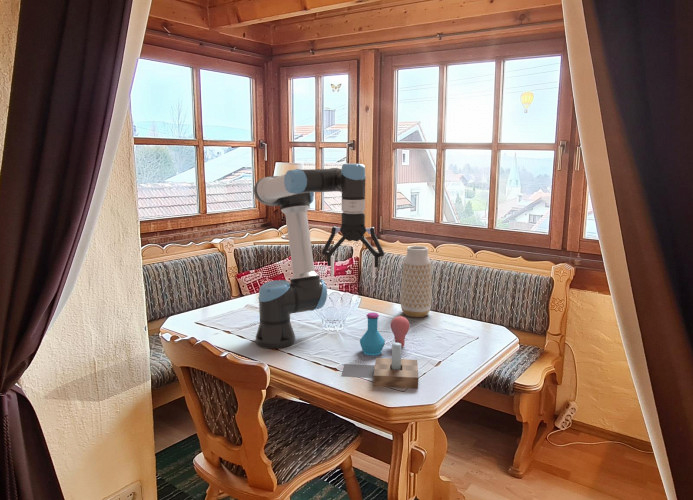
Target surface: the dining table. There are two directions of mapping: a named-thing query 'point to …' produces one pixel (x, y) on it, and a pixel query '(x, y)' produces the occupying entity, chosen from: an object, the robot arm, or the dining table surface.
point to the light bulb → (400, 329)
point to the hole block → (396, 373)
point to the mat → (358, 370)
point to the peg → (396, 356)
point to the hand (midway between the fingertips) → (352, 276)
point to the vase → (416, 282)
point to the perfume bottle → (372, 337)
